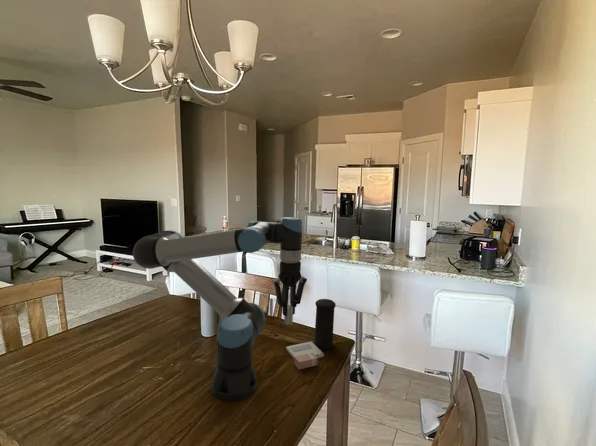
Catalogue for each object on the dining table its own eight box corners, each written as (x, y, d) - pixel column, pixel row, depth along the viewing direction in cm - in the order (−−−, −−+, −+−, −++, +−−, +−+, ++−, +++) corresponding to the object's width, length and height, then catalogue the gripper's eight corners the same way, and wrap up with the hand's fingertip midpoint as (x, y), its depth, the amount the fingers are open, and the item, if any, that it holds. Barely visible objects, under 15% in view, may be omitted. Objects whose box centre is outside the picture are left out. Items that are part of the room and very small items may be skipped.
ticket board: (297, 363, 125) (297, 359, 125) (286, 349, 135) (286, 346, 135) (323, 356, 130) (324, 353, 130) (311, 344, 140) (311, 341, 140)
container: (333, 340, 143) (335, 297, 141) (333, 351, 135) (336, 305, 132) (314, 339, 144) (315, 296, 142) (312, 349, 135) (315, 304, 133)
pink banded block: (298, 369, 120) (298, 362, 120) (294, 364, 124) (294, 356, 123) (317, 365, 124) (317, 357, 123) (312, 359, 127) (312, 352, 127)
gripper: (276, 264, 109) (274, 330, 112) (312, 261, 114) (309, 324, 117) (268, 259, 115) (267, 321, 118) (302, 256, 121) (300, 316, 124)
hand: (288, 323), depth 118 cm, fingers closed
